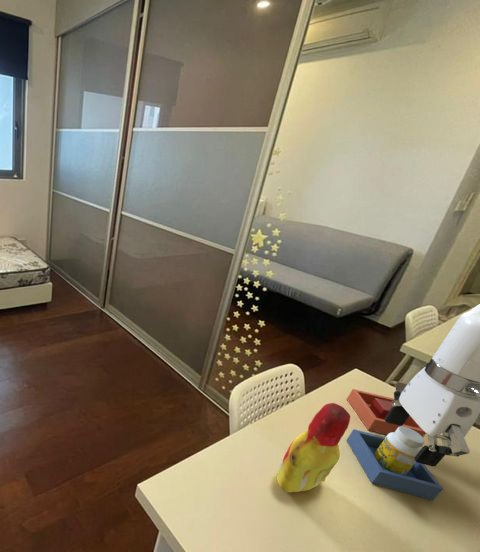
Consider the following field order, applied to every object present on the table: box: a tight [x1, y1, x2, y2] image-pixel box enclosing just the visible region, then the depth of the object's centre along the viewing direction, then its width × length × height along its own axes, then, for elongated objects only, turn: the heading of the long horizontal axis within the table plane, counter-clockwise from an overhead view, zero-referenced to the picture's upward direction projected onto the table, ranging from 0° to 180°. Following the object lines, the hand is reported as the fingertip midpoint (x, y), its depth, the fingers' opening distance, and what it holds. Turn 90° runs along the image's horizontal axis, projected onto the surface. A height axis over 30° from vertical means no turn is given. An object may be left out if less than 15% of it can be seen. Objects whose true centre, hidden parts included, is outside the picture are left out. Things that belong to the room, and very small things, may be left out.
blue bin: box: [346, 428, 444, 502], centre depth 68 cm, size 11×11×4 cm
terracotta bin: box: [346, 388, 427, 438], centre depth 80 cm, size 11×11×4 cm
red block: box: [369, 398, 394, 420], centre depth 80 cm, size 4×4×4 cm
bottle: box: [276, 402, 351, 493], centre depth 59 cm, size 12×6×20 cm, turn 112°
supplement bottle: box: [374, 426, 425, 476], centre depth 66 cm, size 5×5×10 cm
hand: (407, 441), depth 65 cm, fingers open, 9 cm apart
